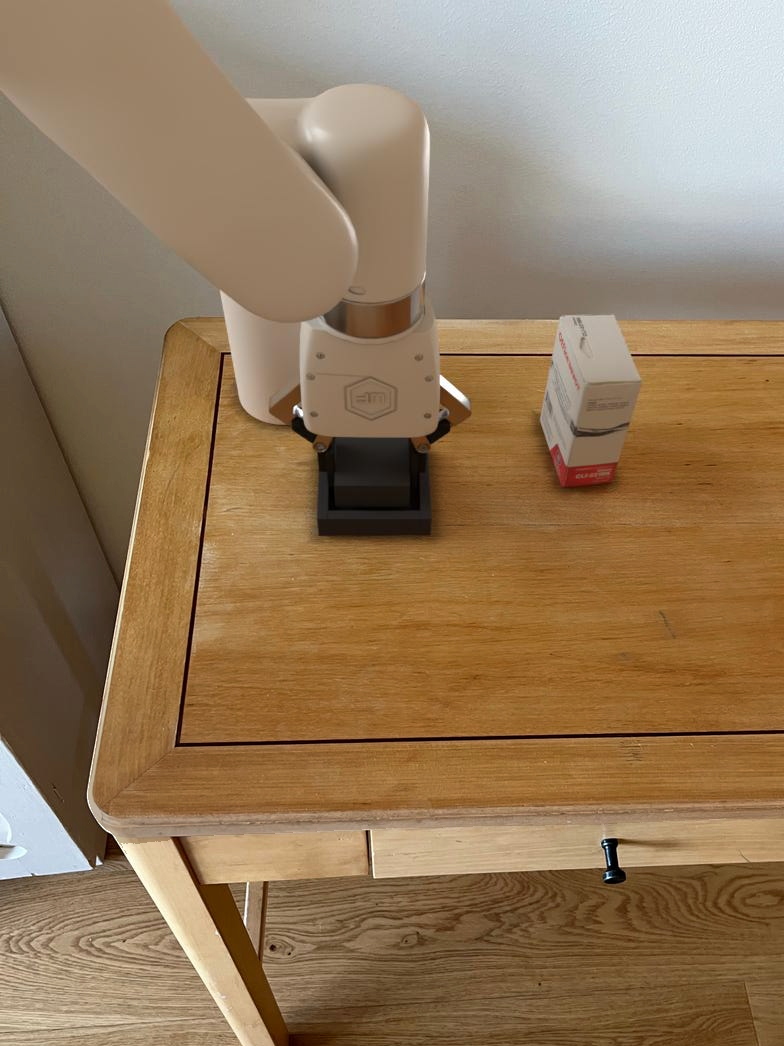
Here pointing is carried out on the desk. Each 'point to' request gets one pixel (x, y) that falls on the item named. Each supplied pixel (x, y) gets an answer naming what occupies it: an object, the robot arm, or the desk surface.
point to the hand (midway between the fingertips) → (372, 473)
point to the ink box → (588, 398)
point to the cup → (260, 357)
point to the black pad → (372, 472)
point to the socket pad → (375, 513)
